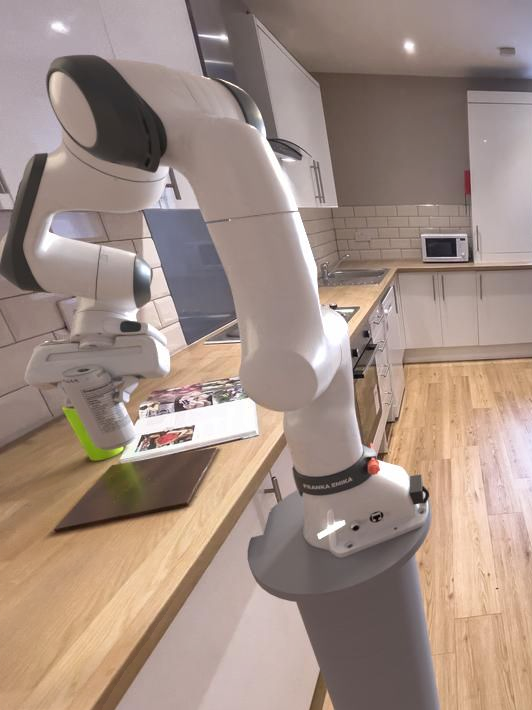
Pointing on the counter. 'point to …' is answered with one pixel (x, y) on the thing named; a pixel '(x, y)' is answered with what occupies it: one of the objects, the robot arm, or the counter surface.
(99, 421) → the energy drink can
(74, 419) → the soap dispenser
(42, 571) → the counter surface
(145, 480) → the coaster board
